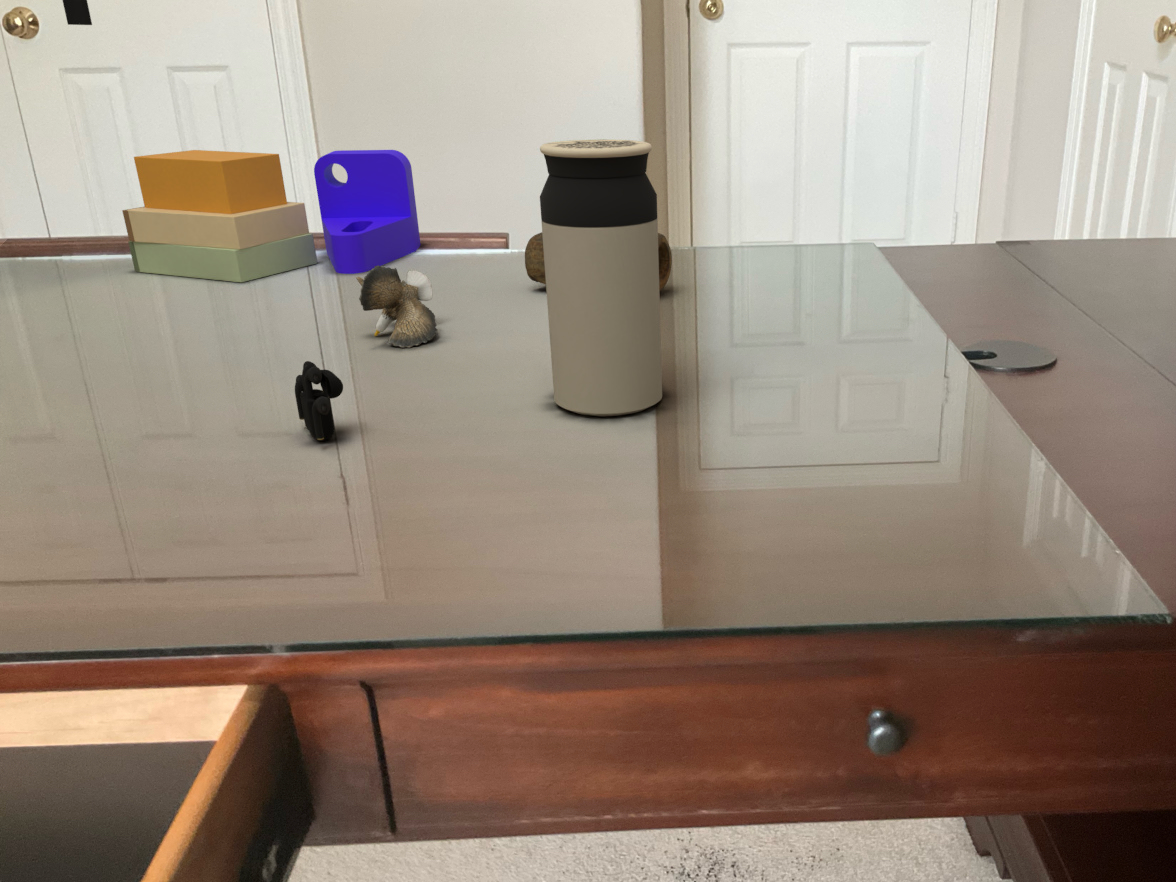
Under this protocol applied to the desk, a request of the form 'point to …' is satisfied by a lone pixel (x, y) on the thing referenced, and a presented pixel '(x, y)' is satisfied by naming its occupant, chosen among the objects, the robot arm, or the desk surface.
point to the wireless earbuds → (317, 400)
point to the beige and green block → (220, 242)
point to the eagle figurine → (399, 304)
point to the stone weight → (537, 265)
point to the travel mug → (602, 276)
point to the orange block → (211, 181)
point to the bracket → (367, 209)
